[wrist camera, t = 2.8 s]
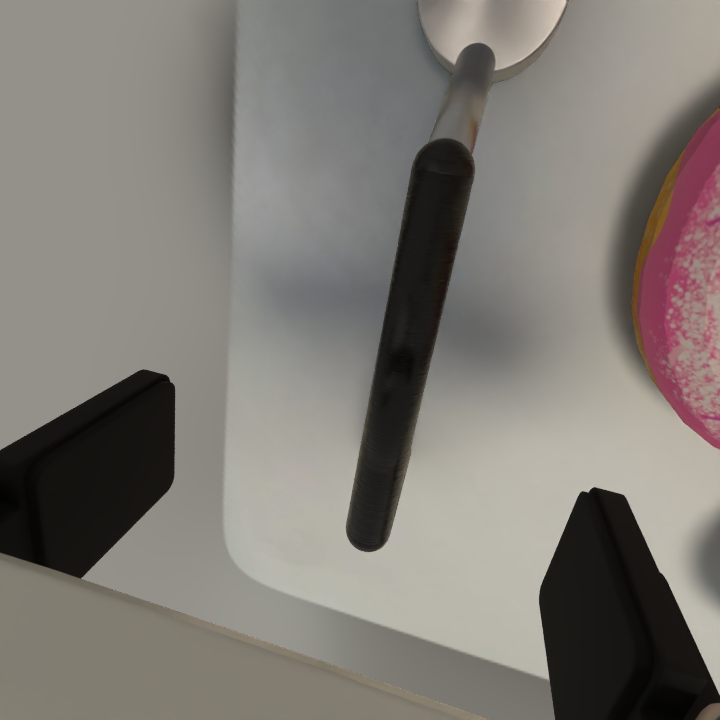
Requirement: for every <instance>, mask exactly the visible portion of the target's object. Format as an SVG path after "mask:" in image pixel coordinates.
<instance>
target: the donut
mask: <svg viewBox="0 0 720 720" xmlns="http://www.w3.org/2000/svg"><path fill="white" fill-rule="evenodd" d="M631 310H632V316H633V322H634V328H635V334H636V340H637V346H638V348H639V351H640V353H641V355H642V357H643V360H644V362H645V364H646V367H647V369H648V371H649V373H650V376H651V378H652V380H653V381H654V383H655V384H656V386H657V387H658V388H659V390H660V391H661V393H662V394H663V395H664V397H665V398H666V399H667V401H668V402H669V403H670V405H671V406H672V407H673V409H674V410H675V411H676V413H677V414H678V415H679V417H680V418H681V419H682V421H683V422H684V423H685V424H686V425H688V426H689V427H690V428H691V429H693V430H694V431H695V432H696V433H697V434H699V435H700V436H701V437H702V438H704V439H705V440H706V441H707V442H708V443H710V444H711V445H712V446H713V447H716V448H718V449H720V107H719V108H718V109H717V110H716V111H715V112H714V113H713V114H712V115H711V116H710V117H709V118H708V119H707V120H706V121H705V122H704V123H703V124H702V125H701V126H700V127H699V128H698V129H697V131H696V132H695V134H694V135H693V137H692V138H691V140H690V141H689V143H688V144H687V146H686V147H685V149H684V150H683V152H682V153H681V155H680V156H679V158H678V159H677V161H676V162H675V164H674V166H673V167H672V169H671V170H670V172H669V173H668V175H667V177H666V179H665V182H664V184H663V186H662V189H661V191H660V193H659V196H658V198H657V200H656V203H655V205H654V207H653V210H652V212H651V214H650V217H649V219H648V222H647V225H646V229H645V233H644V236H643V240H642V243H641V247H640V250H639V254H638V257H637V261H636V264H635V273H634V283H633V294H632V304H631Z"/></svg>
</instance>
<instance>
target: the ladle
mask: <svg viewBox="0 0 720 720" xmlns="http://www.w3.org/2000/svg"><path fill="white" fill-rule="evenodd" d="M568 2H569V0H417V8H418V15H419V20H420V24H421V27H422V30H423V33H424V35H425V37H426V39H427V41H428V43H429V46H430V48H431V50H432V52H433V54H434V55H435V57H436V58H437V60H438V61H439V63H440V64H441V65H442V66H443V67H444V68H445V69H446V70H447V71H449V72H450V73H451V74H452V75H451V78H450V81H449V84H448V87H447V90H446V92H445V95H444V98H443V101H442V104H441V107H440V110H439V113H438V116H437V119H436V122H435V124H434V127H433V130H432V133H431V136H430V139H429V142H428V143H427V144H426V145H425V146H424V147H423V148H422V149H421V150H420V151H419V152H418V154H417V155H416V157H415V159H414V162H413V165H412V170H411V175H410V180H409V186H408V191H407V197H406V202H405V208H404V213H403V218H402V224H401V229H400V235H399V240H398V246H397V251H396V256H395V262H394V267H393V273H392V278H391V284H390V289H389V295H388V300H387V305H386V311H385V316H384V322H383V327H382V333H381V338H380V343H379V349H378V354H377V360H376V365H375V371H374V376H373V381H372V387H371V392H370V398H369V403H368V409H367V414H366V419H365V425H364V430H363V436H362V441H361V447H360V452H359V458H358V463H357V468H356V474H355V479H354V485H353V490H352V496H351V501H350V506H349V512H348V517H347V523H346V533H347V537H348V539H349V541H350V543H351V544H352V545H353V546H354V547H355V548H357V549H358V550H360V551H364V552H373V551H376V550H378V549H380V548H382V547H383V546H384V545H385V543H386V542H387V541H388V538H389V536H390V533H391V529H392V525H393V521H394V517H395V513H396V509H397V506H398V502H399V498H400V494H401V490H402V486H403V483H404V479H405V475H406V471H407V467H408V463H409V459H410V456H411V443H412V439H413V435H414V430H415V426H416V422H417V418H418V413H419V409H420V405H421V401H422V396H423V392H424V388H425V384H426V379H427V375H428V371H429V367H430V362H431V358H432V354H433V350H434V345H435V341H436V337H437V333H438V328H439V324H440V320H441V316H442V311H443V307H444V303H445V299H446V294H447V290H448V286H449V282H450V277H451V273H452V269H453V265H454V260H455V256H456V252H457V248H458V243H459V239H460V235H461V231H462V227H463V222H464V218H465V214H466V210H467V205H468V201H469V197H470V193H471V188H472V184H473V180H474V174H475V164H474V160H473V157H472V153H473V149H474V145H475V141H476V138H477V134H478V130H479V127H480V123H481V119H482V115H483V112H484V108H485V104H486V101H487V97H488V93H489V89H490V86H491V83H494V82H499V81H502V80H505V79H508V78H510V77H512V76H514V75H516V74H518V73H519V72H521V71H522V70H524V69H525V68H527V67H528V66H529V65H530V64H531V63H532V62H534V61H535V60H536V59H537V57H538V56H539V55H540V54H541V53H542V52H543V50H544V49H545V48H546V46H547V45H548V43H549V42H550V40H551V38H552V37H553V35H554V33H555V31H556V29H557V27H558V25H559V23H560V21H561V19H562V17H563V15H564V13H565V11H566V8H567V5H568Z"/></svg>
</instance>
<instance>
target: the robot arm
mask: <svg viewBox="0 0 720 720" xmlns="http://www.w3.org/2000/svg"><path fill="white" fill-rule="evenodd" d="M174 441H175V386H174V385H173V383H171V382H170V380H169V377H168V376H167V375H164V374H160V373H156V372H152V371H149V370H140V371H138V372H136V373H135V374H133V375H131V376H130V377H128V378H126V379H124V380H122V381H121V382H119V383H117V384H115V385H114V386H112V387H110V388H108V389H107V390H105V391H103V392H101V393H100V394H98V395H96V396H94V397H93V398H91V399H89V400H87V401H86V402H84V403H82V404H81V405H79V406H77V407H75V408H73V409H71V410H70V411H68V412H66V413H64V414H63V415H61V416H59V417H57V418H56V419H54V420H52V421H51V422H49V423H47V424H45V425H44V426H42V427H40V428H38V429H37V430H35V431H33V432H31V433H30V434H28V435H26V436H24V437H23V438H21V439H19V440H17V441H16V442H14V443H12V444H11V445H8V446H7V447H5V448H3V449H1V450H0V720H488V719H486V718H483V717H480V716H477V715H475V714H472V713H469V712H466V711H463V710H460V709H458V708H455V707H452V706H449V705H446V704H443V703H441V702H438V701H435V700H432V699H429V698H426V697H423V696H421V695H417V694H415V693H412V692H409V691H406V690H404V689H400V688H398V687H395V686H392V685H389V684H386V683H384V682H380V681H378V680H375V679H372V678H369V677H366V676H363V675H361V674H358V673H355V672H352V671H349V670H346V669H343V668H341V667H338V666H335V665H332V664H329V663H326V662H323V661H321V660H318V659H315V658H312V657H309V656H306V655H303V654H300V653H297V652H294V651H292V650H289V649H286V648H283V647H280V646H277V645H274V644H271V643H268V642H265V641H263V640H260V639H257V638H254V637H251V636H248V635H245V634H242V633H239V632H236V631H233V630H231V629H228V628H225V627H222V626H219V625H216V624H213V623H210V622H207V621H204V620H201V619H198V618H195V617H192V616H190V615H187V614H184V613H181V612H178V611H175V610H172V609H169V608H166V607H163V606H160V605H157V604H154V603H151V602H148V601H145V600H142V599H139V598H136V597H133V596H130V595H128V594H125V593H122V592H118V591H116V590H113V589H110V588H107V587H104V586H101V585H97V584H95V583H92V582H89V581H86V580H83V579H81V578H82V577H83V576H84V575H85V574H86V573H87V572H88V571H89V570H90V569H91V568H92V567H93V566H94V565H95V564H96V563H97V562H98V561H99V560H100V559H101V558H102V557H103V556H104V555H105V554H106V553H107V552H108V551H109V550H110V549H111V548H112V547H113V546H114V545H115V544H116V543H117V542H118V540H120V539H121V538H122V537H123V536H124V535H125V534H126V533H127V532H128V530H130V529H131V527H132V526H133V525H134V524H135V523H136V522H137V521H138V520H139V519H140V518H141V517H142V516H143V515H144V514H145V513H146V512H147V511H148V510H149V509H150V508H151V507H152V506H153V505H154V504H155V503H156V502H157V501H158V500H159V499H160V498H161V497H162V496H163V495H164V494H165V493H166V492H167V491H168V490H169V488H170V487H171V485H172V483H173V480H174V454H175V451H174V450H175V443H174ZM539 605H540V613H541V620H542V627H543V634H544V642H545V649H546V656H547V663H548V670H549V678H550V685H551V692H552V699H553V707H554V714H555V720H720V695H719V693H718V691H717V689H716V686H715V684H714V682H713V680H712V678H711V676H710V673H709V671H708V669H707V667H706V665H705V663H704V660H703V658H702V656H701V654H700V652H699V650H698V647H697V645H696V643H695V641H694V639H693V637H692V634H691V632H690V630H689V628H688V626H687V624H686V621H685V619H684V617H683V615H682V613H681V610H680V608H679V606H678V604H677V602H676V600H675V597H674V595H673V593H672V591H671V589H670V587H669V584H668V582H667V580H666V579H665V577H664V576H663V574H661V573H660V572H659V570H658V568H657V566H656V563H655V561H654V559H653V557H652V554H651V552H650V550H649V548H648V546H647V543H646V541H645V539H644V537H643V535H642V532H641V530H640V528H639V526H638V524H637V521H636V519H635V517H634V515H633V513H632V510H631V508H630V506H629V504H628V501H627V499H626V498H625V496H624V495H622V494H618V493H615V492H611V491H607V490H603V489H599V488H596V487H594V488H592V489H591V490H590V491H589V493H587V492H584V491H583V492H581V493H580V494H579V496H578V498H577V500H576V503H575V505H574V508H573V510H572V512H571V515H570V517H569V520H568V522H567V524H566V527H565V529H564V532H563V534H562V536H561V539H560V541H559V544H558V546H557V548H556V551H555V553H554V556H553V558H552V560H551V563H550V565H549V568H548V570H547V572H546V575H545V577H544V580H543V582H542V585H541V588H540V594H539Z"/></svg>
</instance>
